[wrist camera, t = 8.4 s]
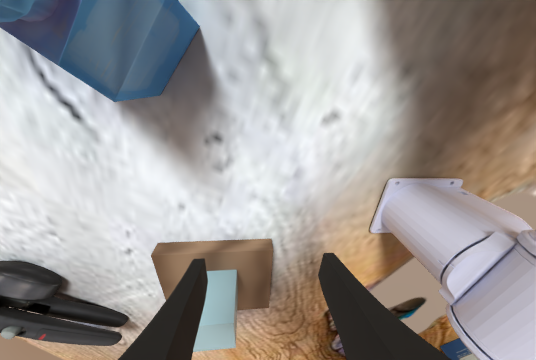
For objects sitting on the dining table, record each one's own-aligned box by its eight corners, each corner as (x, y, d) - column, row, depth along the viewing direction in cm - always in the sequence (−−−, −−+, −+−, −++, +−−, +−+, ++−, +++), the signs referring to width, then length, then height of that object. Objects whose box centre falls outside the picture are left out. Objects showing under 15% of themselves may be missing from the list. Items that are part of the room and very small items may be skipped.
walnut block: (270, 235, 25) (273, 249, 23) (267, 291, 31) (268, 307, 28) (159, 239, 24) (150, 255, 21) (176, 297, 29) (170, 315, 27)
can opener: (-20, 275, 23) (-93, 328, 18) (10, 247, 22) (-60, 296, 17) (115, 327, 31) (89, 375, 26) (144, 309, 29) (123, 356, 24)
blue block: (236, 269, 24) (233, 322, 19) (237, 293, 26) (235, 347, 21) (195, 271, 23) (180, 327, 18) (200, 296, 26) (188, 352, 20)
